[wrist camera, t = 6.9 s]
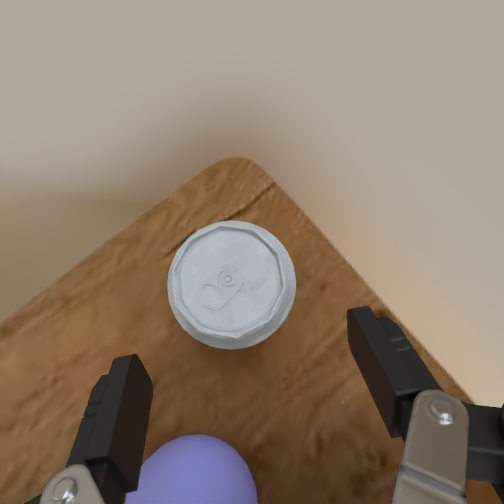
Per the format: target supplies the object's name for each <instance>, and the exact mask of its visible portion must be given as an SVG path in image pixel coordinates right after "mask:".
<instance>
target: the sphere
mask: <svg viewBox="0 0 504 504" xmlns="http://www.w3.org/2000/svg"><path fill="white" fill-rule="evenodd" d="M125 504H258V502H257V491H256V486H255V483H254V480H253V478H252V475H251V473H250V470H249V468H248V465H247V464H246V462H245V461H244V460H243V459H242V457H241V456H240V455H239V454H238V452H237V451H236V450H235V449H234V448H233V447H231V446H230V445H228V444H227V443H225V442H224V441H222V440H221V439H219V438H216V437H212V436H208V435H204V434H196V435H186V436H181V437H179V438H177V439H174V440H172V441H170V442H168V443H166V444H164V445H162V446H161V447H160V448H159V449H158V450H157V451H156V452H154V453H153V454H152V455H151V456H150V457H149V458H148V459H147V460H146V461H145V462H144V463H143V465H142V466H141V471H140V477H139V483H138V489H137V491H134V492H129V493H127V497H126V501H125Z"/></svg>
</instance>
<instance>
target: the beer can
mask: <svg viewBox="0 0 504 504" xmlns="http://www.w3.org/2000/svg"><path fill="white" fill-rule="evenodd" d="M167 286H168V298H169V303H170V306H171V308H172V311H173V313H174V315H175V318H176V319H177V320H178V322H179V323H180V325H181V326H182V327H183V329H184V330H185V331H187V332H188V333H189V334H190V335H191V336H192V337H193V338H195V339H196V340H198V341H200V342H202V343H204V344H207V345H209V346H211V347H214V348H222V349H230V350H233V349H242V348H246V347H250V346H253V345H255V344H257V343H259V342H261V341H263V340H265V339H267V338H268V337H269V336H270V335H272V334H273V333H274V332H275V331H276V330H278V329H279V327H280V326H281V325H282V323H283V322H284V321H285V319H286V318H287V316H288V314H289V312H290V310H291V307H292V305H293V301H294V297H295V293H296V279H295V272H294V266H293V263H292V261H291V259H290V257H289V254H288V252H287V251H286V249H285V248H284V246H283V245H282V244H281V243H280V242H279V240H278V239H277V238H276V237H275V236H273V235H272V234H271V233H269V232H268V231H267V230H265V229H263V228H261V227H259V226H256V225H254V224H252V223H247V222H240V221H223V222H218V223H215V224H212V225H209V226H207V227H204V228H202V229H200V230H199V231H197V232H196V233H195V234H193V235H192V236H191V237H189V238H188V239H187V240H186V241H185V243H184V244H183V245H182V246H181V247H180V249H179V250H178V251H177V253H176V255H175V257H174V259H173V261H172V264H171V267H170V270H169V275H168V282H167Z"/></svg>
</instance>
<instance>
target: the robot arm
mask: <svg viewBox="0 0 504 504" xmlns="http://www.w3.org/2000/svg"><path fill="white" fill-rule="evenodd" d="M347 328H348V342H349V346H350V349H351V352H352V355H353V357H354V359H355V361H356V363H357V365H358V367H359V370H360V372H361V374H362V376H363V378H364V380H365V382H366V385H367V387H368V389H369V391H370V393H371V395H372V397H373V400H374V402H375V404H376V406H377V408H378V410H379V412H380V415H381V417H382V419H383V421H384V423H385V425H386V427H387V430H388V432H389V434H390V436H391V438H396V437H400V436H401V437H402V439H403V441H404V443H405V447H404V452H403V457H402V461H401V465H400V468H399V472H398V477H397V481H396V486H395V491H394V496H393V501H392V504H467V500H466V496H465V492H464V489H465V479H471V480H477V481H484V482H490V483H491V484H492V486H493V487H494V489H495V491H496V492H497V494H498V496H499V498H500V499H501V501H502V503H503V504H504V404H503V406H502V408H498V407H489V406H479V405H471V404H467V403H464V402H461V401H459V400H458V399H457V398H455V397H454V396H453V395H451V394H449V393H447V392H445V391H444V390H443V389H442V388H441V387H440V386H439V384H438V383H437V382H436V380H435V379H434V377H433V376H432V374H431V373H430V371H429V370H428V368H427V367H426V365H425V364H424V362H423V361H422V359H421V358H420V356H419V355H418V354H417V352H416V351H415V349H413V346H412V345H411V343H410V342H409V340H408V339H407V338H406V336H405V334H404V333H403V331H402V330H401V329H400V327H399V326H398V325H397V324H396V323H394V322H393V321H392V320H390V319H389V318H387V317H381V318H376V316H375V315H374V313H373V312H372V310H371V308H370V307H369V306H362V307H358V308H353V309H348V310H347ZM152 396H153V387H152V382H151V379H150V377H149V375H148V373H147V371H146V369H145V367H144V366H143V364H142V362H141V360H140V358H139V357H138V355H137V354H132V355H127V356H123V357H118V358H115V359H114V360H113V362H112V365H111V368H110V372H109V374H108V375H103V376H102V377H101V378H100V379H99V381H98V382H97V383H96V385H95V386H94V388H93V389H92V392H91V395H90V398H89V401H88V406H86V409H85V412H84V418H82V421H81V424H80V427H79V430H78V433H77V436H76V439H75V442H74V445H73V448H72V451H71V454H70V457H69V460H68V462H67V465H66V467H65V469H63V470H61V471H60V472H59V473H57V474H56V475H55V476H54V477H53V478H52V479H51V481H50V482H49V483H48V485H47V486H46V488H45V489H44V491H43V493H42V494H41V495H39V496H37V497H35V498H34V499H32V500H30V501H28V502H26V503H24V504H123V502H124V497H125V493H129V492H134V491H137V489H138V483H139V477H140V471H141V464H142V458H143V452H144V446H145V440H146V433H147V427H148V421H149V415H150V408H151V402H152Z"/></svg>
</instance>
